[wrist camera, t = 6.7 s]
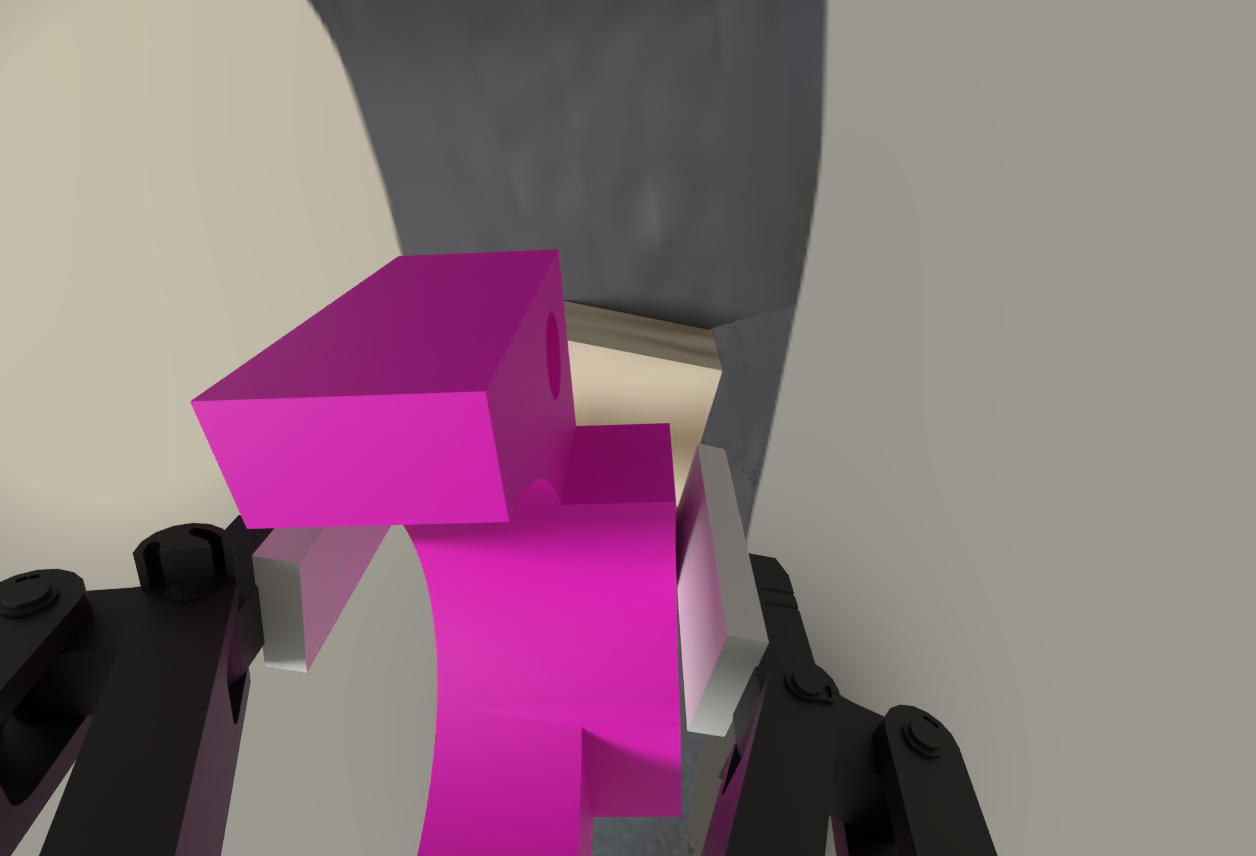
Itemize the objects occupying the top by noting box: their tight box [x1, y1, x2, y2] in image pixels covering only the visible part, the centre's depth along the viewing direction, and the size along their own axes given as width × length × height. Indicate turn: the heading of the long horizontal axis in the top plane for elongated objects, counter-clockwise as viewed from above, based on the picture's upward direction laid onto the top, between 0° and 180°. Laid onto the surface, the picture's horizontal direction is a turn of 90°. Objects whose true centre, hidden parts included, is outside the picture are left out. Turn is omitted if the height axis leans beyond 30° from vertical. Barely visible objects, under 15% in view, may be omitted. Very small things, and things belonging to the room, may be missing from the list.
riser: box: [564, 301, 722, 507], centre depth 32 cm, size 8×8×5 cm
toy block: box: [191, 249, 681, 856], centre depth 14 cm, size 15×6×8 cm, turn 3°
